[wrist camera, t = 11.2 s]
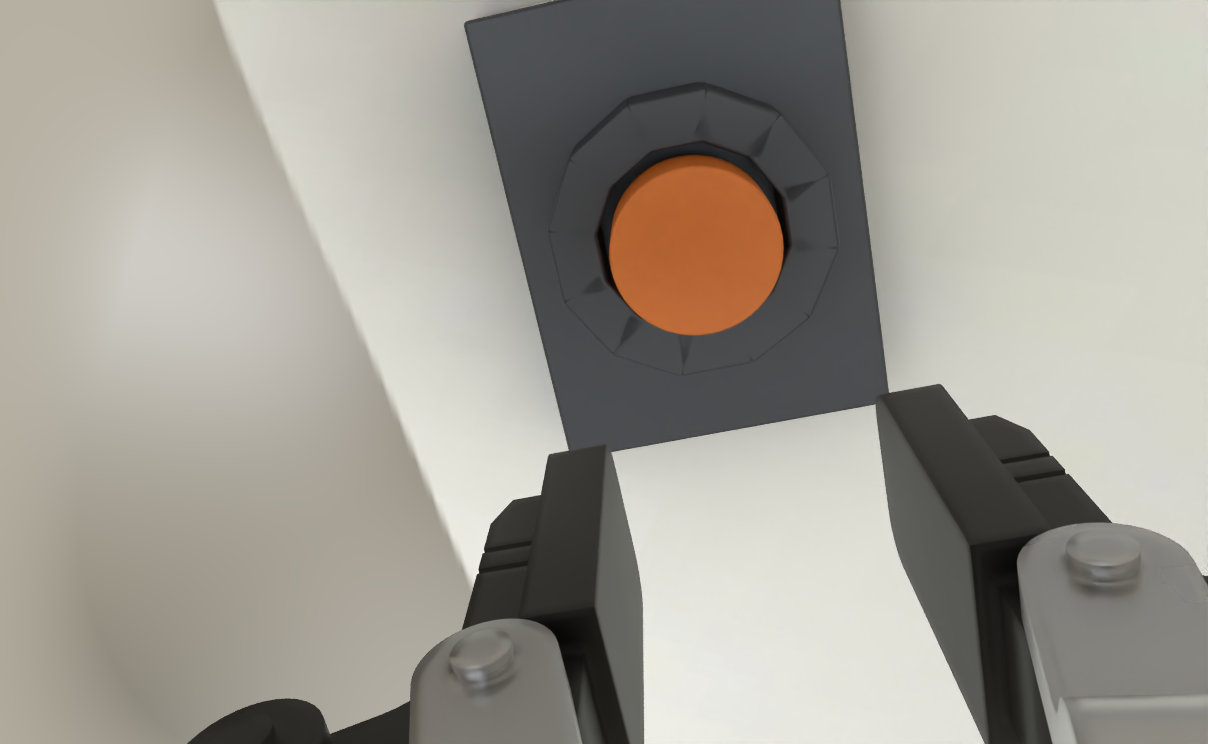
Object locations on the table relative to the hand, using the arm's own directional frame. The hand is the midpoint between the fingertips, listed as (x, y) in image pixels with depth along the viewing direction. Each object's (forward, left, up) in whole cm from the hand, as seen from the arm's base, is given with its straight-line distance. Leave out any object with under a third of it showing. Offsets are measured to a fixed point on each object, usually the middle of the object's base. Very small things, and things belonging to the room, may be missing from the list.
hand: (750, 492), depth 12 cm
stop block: (0, 0, -17) cm, 17 cm away
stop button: (0, 0, -14) cm, 14 cm away
